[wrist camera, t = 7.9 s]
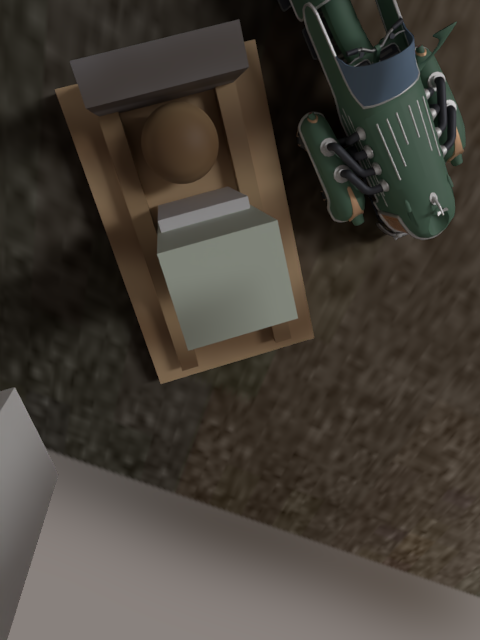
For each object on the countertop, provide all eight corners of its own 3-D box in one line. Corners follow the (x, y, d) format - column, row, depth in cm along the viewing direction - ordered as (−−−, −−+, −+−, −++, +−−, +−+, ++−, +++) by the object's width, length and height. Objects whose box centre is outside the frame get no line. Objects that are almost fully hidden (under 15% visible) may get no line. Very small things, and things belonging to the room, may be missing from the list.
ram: (155, 205, 29) (152, 239, 18) (230, 185, 29) (274, 205, 18) (177, 278, 30) (188, 350, 19) (248, 258, 31) (298, 318, 20)
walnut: (132, 115, 27) (127, 109, 23) (203, 97, 27) (211, 87, 23) (155, 189, 28) (154, 195, 24) (221, 171, 29) (231, 174, 25)
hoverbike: (344, 261, 34) (398, 293, 26) (159, -125, 24) (159, -253, 17) (455, 194, 33) (543, 206, 26) (312, -224, 24) (383, -401, 16)
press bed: (59, 92, 27) (25, 72, 20) (251, 43, 28) (280, 8, 21) (160, 376, 34) (161, 430, 28) (309, 332, 35) (344, 373, 28)
